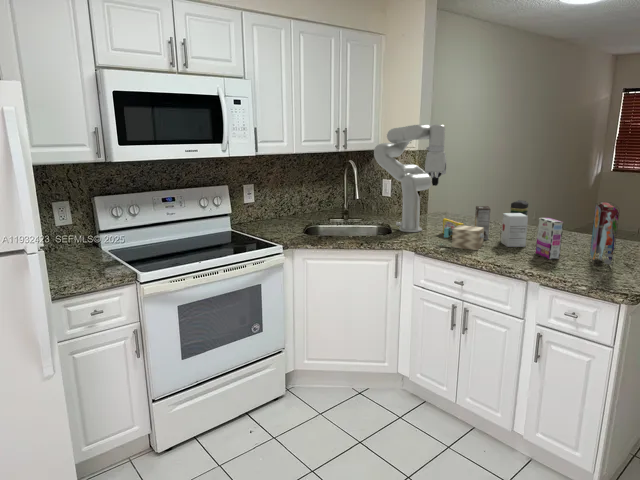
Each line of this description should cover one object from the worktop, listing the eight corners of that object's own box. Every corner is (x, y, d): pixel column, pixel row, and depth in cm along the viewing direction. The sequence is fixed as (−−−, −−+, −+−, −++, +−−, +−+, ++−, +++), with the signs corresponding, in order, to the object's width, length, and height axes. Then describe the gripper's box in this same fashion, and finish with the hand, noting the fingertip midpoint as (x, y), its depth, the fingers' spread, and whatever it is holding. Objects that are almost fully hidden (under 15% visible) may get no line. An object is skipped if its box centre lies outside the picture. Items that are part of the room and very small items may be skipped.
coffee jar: (522, 238, 233) (525, 202, 229) (506, 236, 238) (509, 201, 233) (527, 234, 240) (530, 200, 236) (511, 232, 245) (514, 198, 241)
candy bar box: (560, 259, 193) (564, 221, 190) (549, 259, 193) (553, 222, 189) (545, 252, 204) (549, 217, 201) (534, 253, 204) (538, 217, 200)
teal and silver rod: (443, 237, 221) (444, 228, 220) (446, 235, 225) (447, 226, 224) (481, 241, 212) (482, 232, 211) (484, 239, 215) (484, 230, 214)
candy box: (442, 233, 248) (442, 218, 246) (445, 233, 248) (446, 218, 247) (460, 239, 233) (461, 223, 231) (463, 239, 234) (464, 223, 232)
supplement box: (500, 242, 225) (502, 212, 221) (518, 242, 224) (520, 212, 221) (506, 247, 216) (509, 216, 212) (526, 246, 215) (528, 215, 212)
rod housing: (451, 247, 217) (452, 228, 215) (458, 242, 225) (458, 225, 223) (477, 250, 211) (478, 231, 209) (482, 245, 219) (484, 227, 217)
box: (586, 252, 203) (593, 198, 197) (602, 254, 200) (609, 199, 195) (594, 268, 181) (601, 207, 175) (612, 269, 178) (620, 208, 173)
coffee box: (473, 235, 241) (475, 205, 237) (486, 235, 239) (488, 205, 236) (475, 239, 232) (477, 208, 228) (488, 239, 231) (491, 208, 227)
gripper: (419, 149, 232) (418, 185, 236) (448, 149, 224) (446, 186, 228) (425, 149, 238) (423, 184, 242) (453, 149, 230) (451, 185, 234)
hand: (435, 185), depth 235 cm, fingers closed
